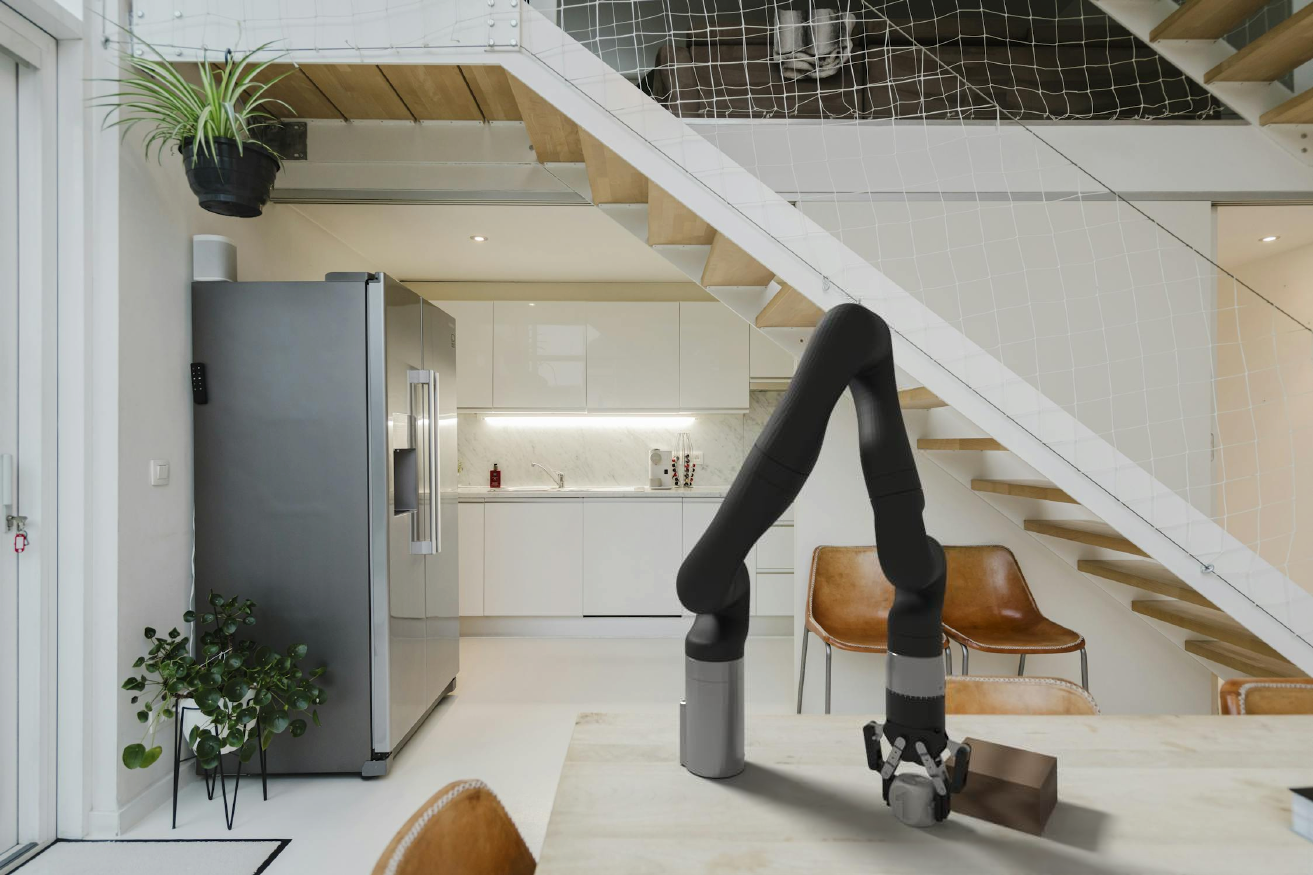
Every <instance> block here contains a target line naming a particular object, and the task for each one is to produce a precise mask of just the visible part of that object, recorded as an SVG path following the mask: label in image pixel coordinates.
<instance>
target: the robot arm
mask: <svg viewBox="0 0 1313 875" xmlns="http://www.w3.org/2000/svg"><path fill="white" fill-rule="evenodd" d="M893 350H894V349H893V340H892V333H891V328H889V325H888V324H887V322H886V320H885V319H883V317H881V316H880V315H879V314H877V312H874V311H872V310H870V309H869V308H867V307H865V306H863V305H861V304H859V303H853V302H845V303H844V302H843V303H841V304H837V305H835V306H833V307H832V308H830V309H829V310H828V311H826V312H825V313H824V314H823V315H822V316H821V317H820V319H819V320H818V322H817V323H816V326H815V327H814V329H813V331H812V333H811V334H810V338H809V340H808V342H807V345H806V347H805V350H804V352H803V354H802V356H801V358H800V361H799V364H798V366H797V367H796V369H795V373H794V375H793V376H792V379H791V380H790V382H789V384H788V386H787V388H786V390H785V392H784V393H783V394H782V396H781V398H780V399H779V401H778V402H777V405H776V406H775V408H774V410H773V411H772V413H771V415H770V416H769V419H768V420H767V422H766V424H765V426H764V427H763V429H762V431H761V432H760V433H759V436H758V437H757V439H756V441H755V442H754V444H753V446H752V447H751V449H750V451H749V453H748V454H747V456H746V457H745V460H744V461H743V463H742V465H741V467H740V469H739V471H738V473H737V475H736V477H735V478H734V481H733V482H732V484H731V486H730V488H729V490H728V491H727V493H726V495H725V497H724V498H723V500H722V502H721V504H720V506H719V508H718V510H717V512H716V514H715V516H714V517H713V519H712V520H711V522H710V523H709V525H708V526H707V528H706V530H705V531H704V533H703V534H702V535H701V536H700V538H699V540H698V541H697V542H696V544H695V545H694V546H693V547H692V549H691V550H690V552H689V553H688V554H687V556H686V558H684V560H683V562H682V563H681V565H680V567H679V569H678V571H677V576H676V582H675V590H676V594H677V597H678V600H679V602H680V603H681V605H682V607H684V609H685V610H687V611H689V612H690V613H693V614H696V616H695V619H694V622H693V624H692V626H691V628H690V629H689V631H688V632H687V634H686V635H685V639H684V666H685V667H684V670H685V671H684V677H685V678H684V679H685V680H684V700H682V701H680V703H679V764H681V765H683V766H685V768H686V769H687V770H688V771H690V773H693V774H694V775H698V776H701V777H705V778H713V779H714V778H715V779H717V778H718V779H719V778H729V777H733V776H736V775H738V774H740V773H741V772H742V771H743V770H744V769H745V756H746V754H745V740H746V739H745V736H746V734H745V733H746V732H745V724H746V723H745V718H746V717H745V714H746V713H745V645H746V641H747V638H748V634H749V629H750V615H751V613H750V612H751V578H750V573H749V572H750V571H749V569H748V567H747V564H746V562H745V559H747V558H746V557H748V555H749V553H750V551H751V550H752V548H753V547H754V545H755V544H756V543H757V542H758V541H759V539H760V538H761V537H762V536H763V535H764V534H765V533H766V532H767V531H768V530H769V529H770V528H771V527H772V526H773V525H774V524H775V523H776V522H778V520H779V519H780V518H781V517H782V516H783V515H784V513H785V512H786V511H787V510H788V508H790V507H791V505H792V504H793V502H795V500H796V498H797V496H799V494H800V493H801V491H802V488H803V487H804V485H805V484H806V482H807V480H808V478H809V477H810V475H811V474H812V472H813V470H814V468H815V466H816V463H817V461H818V460H819V456H820V455H821V452H822V448H823V444H824V441H825V438H826V437H825V436H826V434H827V433H826V432H827V428H828V425H829V421H830V418H831V416H832V413H833V411H834V409H835V406H837V403H838V401H839V399H840V398H841V397H842V395H843V394H844V392H845V390H846V389H847V387H848V388H849V391H850V393H851V396H852V399H853V400H852V401H853V404H854V408H855V413H856V418H857V419H856V420H857V428H858V447H859V450H858V451H859V458H860V465H861V470H862V474H863V479H864V483H865V487H866V490H867V494H868V499H869V502H870V505H871V508H872V510H873V519H874V520H873V522H874V523H873V524H874V527H873V528H874V537H875V545H876V546H875V547H876V554H877V558H878V563H879V566H880V568H881V571H882V573H883V575H884V577H885V579H886V580H887V581H888V582H889V583H890V584H891V585H892V586H893V587H894V600H893V604H892V606H891V607H890V609H889V612H888V615H887V621H886V623H887V624H886V630H887V631H886V636H887V637H886V638H887V639H886V640H887V641H886V643H887V645H886V646H887V649H886V657H885V658H886V659H885V668H884V669H885V672H884V673H885V722H884V723H877V721H876V720H871V721H869V722H868V723H866V724H865V725H864V726H863V727H862V733H863V740H864V747H865V755H866V761H867V766H868V768H869V770H871V771H875V772H877V773H878V774H880V776H881V780H882V781H881V782H882V785H881V790H882V793H881V794H882V799H883V801H884V802H886V804H885V805H886V806H887V807H890V808H891V806H890V803H889V790H890V787H891V784H892V782H893V780H894V779H895V777H896V776H898V775H897V774H896V771H897V769H898V767H899V765H900V763H901V762H905V763H914V764H916V765H918V766H920V767H924V768H925V770H926V772H927V776H928V777H930V778H931V779H932V780H933V782H934V785H935V787H936V789H937V792H936V793H935V820H936V823H944V821H945V820H946V819H948V817H949V816H950V813H951V810H950V793H955V794H959V793H960V792H961V791H962V789H963V788H964V787H965V786H966V781H967V775H968V768H969V762H970V756H971V749H972V748H971V745H970V744H969V743H963V744H961V743H960V742H957V741H956V740H955V741H954V740H952V739H950V737H949V735H948V733H947V730H946V688H947V679H946V668H945V663H944V662H945V661H944V654H943V653H944V651H943V650H944V644H943V643H944V642H943V638H944V637H943V636H944V635H943V632H944V631H943V621H942V620H943V609H944V603H945V597H946V588H947V581H948V580H947V578H948V576H947V575H948V562H947V561H948V560H947V556H946V552H945V551H944V548H943V546H942V545H941V543H940V542H939V541H938V540H937V539H936V538H934V537H933V536H931V535H929V534H927V530H926V526H925V521H924V516H923V512H924V510H925V508H926V499H925V498H926V497H925V494H924V489H923V488H922V487H923V486H922V482H921V478H920V476H919V472H918V468H917V464H916V461H915V457H914V454H913V451H912V448H911V443H910V440H909V436H908V433H907V429H906V424H905V421H904V418H903V417H904V416H903V413H902V409H901V404H900V399H899V392H898V386H897V385H898V384H897V380H896V369H895V360H894V359H895V357H894V351H893ZM883 735H884V736H885V738H886V740H887V742H888V743H889V745H890V747H891V750H890V752H889V754H888V756H887V758H886V759H885V760H884V758H883V751H882V744H881V740H882V738H883ZM946 749H947V750H948V751H949V753H950V755H951V758H952V759H953V760H954V761H955V764H954V771H953V777H952V779H950V778H949V776H948V774H947V771H946V766H945V763H944V761H945V760H944V758H943V757H942V753H944V751H945V750H946Z"/></svg>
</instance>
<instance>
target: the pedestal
mask: <svg viewBox="0 0 1313 875" xmlns="http://www.w3.org/2000/svg"><path fill="white" fill-rule="evenodd" d="M963 743H969V744H970V745H971V748H972V749H971V756H970V762H969V768H968V775H967V781H966V786H965V787H964V788H963V789H962V791H961V792H960V793H959V794H955V793H950V812H952V811H953V812H955V813H958V814H962V815H965V816H969V817H972V818H975V819H978V820H979V819H980V820H983V821H984V822H985V821H986V822H989V823H993V824H996V825H1000V826H1002V827H1006V828H1010V829H1013V830H1016V831H1019V832H1024V833H1027V834H1030V835H1034V836H1037V837H1041V836H1042V834H1043V832H1044V830H1045V828H1046V825H1047V824H1048V822H1049V819H1050V818H1051V815H1052V814H1053V811H1054V809H1055V807H1056V804H1057V803H1058V801H1059V800H1058V796H1059V795H1058V757H1057V756H1052V755H1048V754H1044V753H1039V752H1035V751H1031V750H1027V749H1022V748H1018V747H1014V746H1009V745H1004V744H1001V743H996V742H990V741H987V740H983V739H977V738H975V737H970V736H966V737H965V738H964V740H962V741H961V743H960V744H963ZM943 761H944V763H945V766H946V771H947V774H948V776H949V778H950V779H952V777H953V771H954V764H955V761H954V760H953V759H952V758H951V754H949V756H948V757H947V758H946V759H945V760H943Z"/></svg>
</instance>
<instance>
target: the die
mask: <svg viewBox="0 0 1313 875" xmlns="http://www.w3.org/2000/svg"><path fill="white" fill-rule="evenodd" d="M936 792H937V789H936V787H935V785H934V782H933V780H932V778H931V777H930V776H929V775H927V774H926V775H925V774H922V773H918V772H914V771H913V772H912V771H910V772H909V771H908V772H902V773H900V774H898V775H897V776H896V777H895V779H894V780H893V782H892V784H891V787H890V790H889V803H890V806H891V807H890V808H891V811H892V812H893V814H894V815H895V817H896V818H897V819H898V820H899V821H900V822H901V823H904V824H905V825H908V826H911V827H916V828H928V827H931V826H933V825H935V824H936V823H937V821H936V820H935V793H936Z"/></svg>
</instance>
